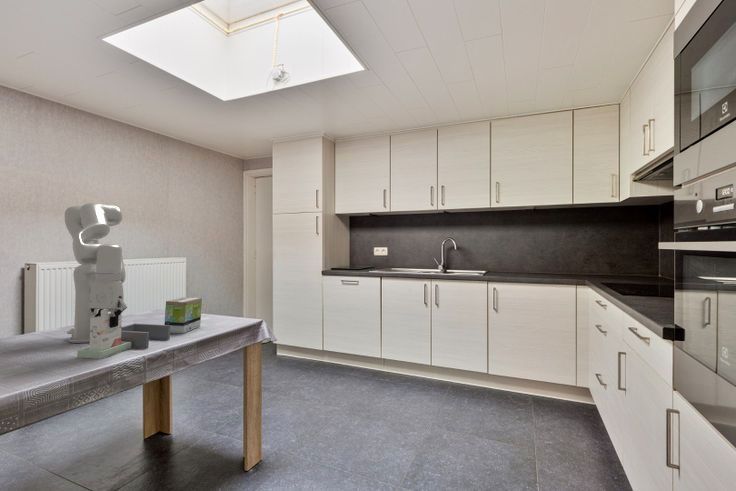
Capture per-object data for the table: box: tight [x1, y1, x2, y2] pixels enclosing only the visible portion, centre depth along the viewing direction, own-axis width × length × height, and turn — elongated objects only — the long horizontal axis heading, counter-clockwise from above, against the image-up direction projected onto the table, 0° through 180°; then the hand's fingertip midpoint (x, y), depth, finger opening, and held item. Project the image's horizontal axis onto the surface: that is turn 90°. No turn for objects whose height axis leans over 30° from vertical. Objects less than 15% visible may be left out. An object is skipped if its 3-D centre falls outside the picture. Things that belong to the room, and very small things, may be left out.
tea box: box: [163, 296, 203, 334], centre depth 165 cm, size 15×10×15 cm
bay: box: [121, 323, 171, 349], centre depth 141 cm, size 16×14×6 cm
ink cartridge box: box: [89, 307, 123, 351], centre depth 127 cm, size 9×5×15 cm, turn 168°
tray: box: [76, 341, 132, 360], centre depth 127 cm, size 10×13×2 cm
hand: (106, 325), depth 127 cm, fingers closed on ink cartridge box, 5 cm apart
